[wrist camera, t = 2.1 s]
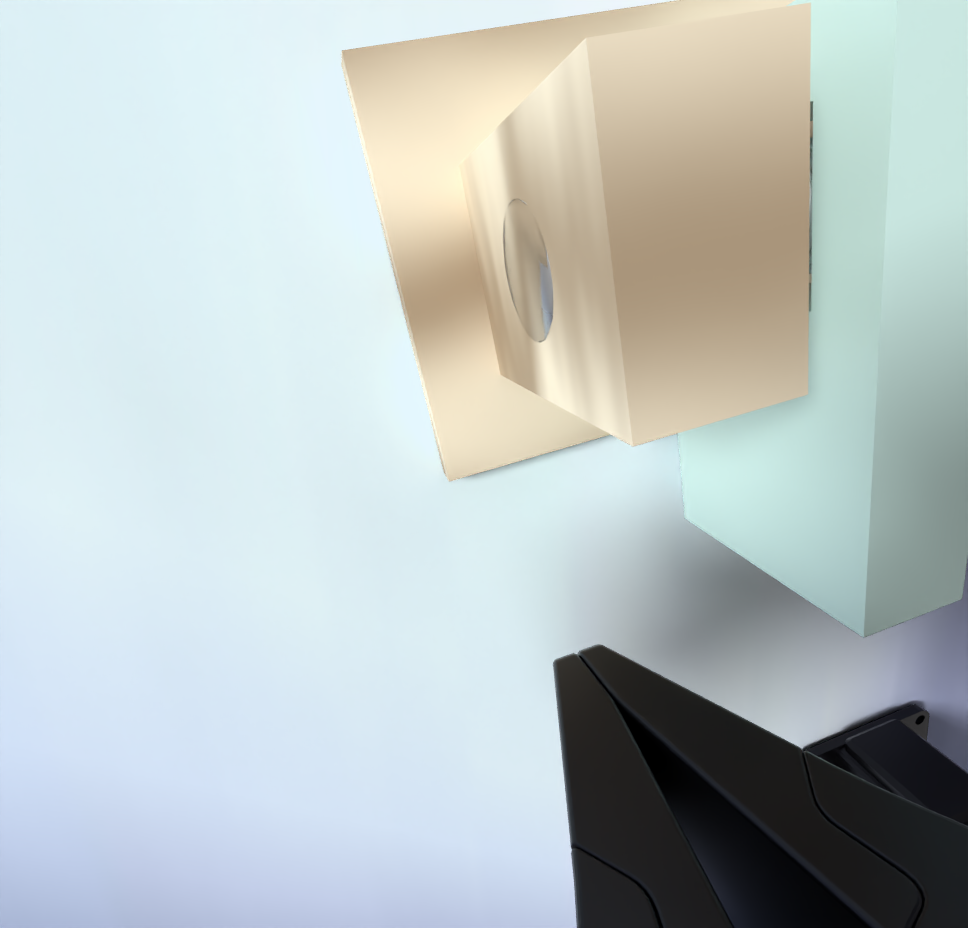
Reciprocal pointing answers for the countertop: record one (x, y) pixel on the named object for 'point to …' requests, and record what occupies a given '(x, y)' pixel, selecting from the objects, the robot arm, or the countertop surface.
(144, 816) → the countertop surface
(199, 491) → the countertop surface
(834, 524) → the collar
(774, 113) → the beige cradle stand
